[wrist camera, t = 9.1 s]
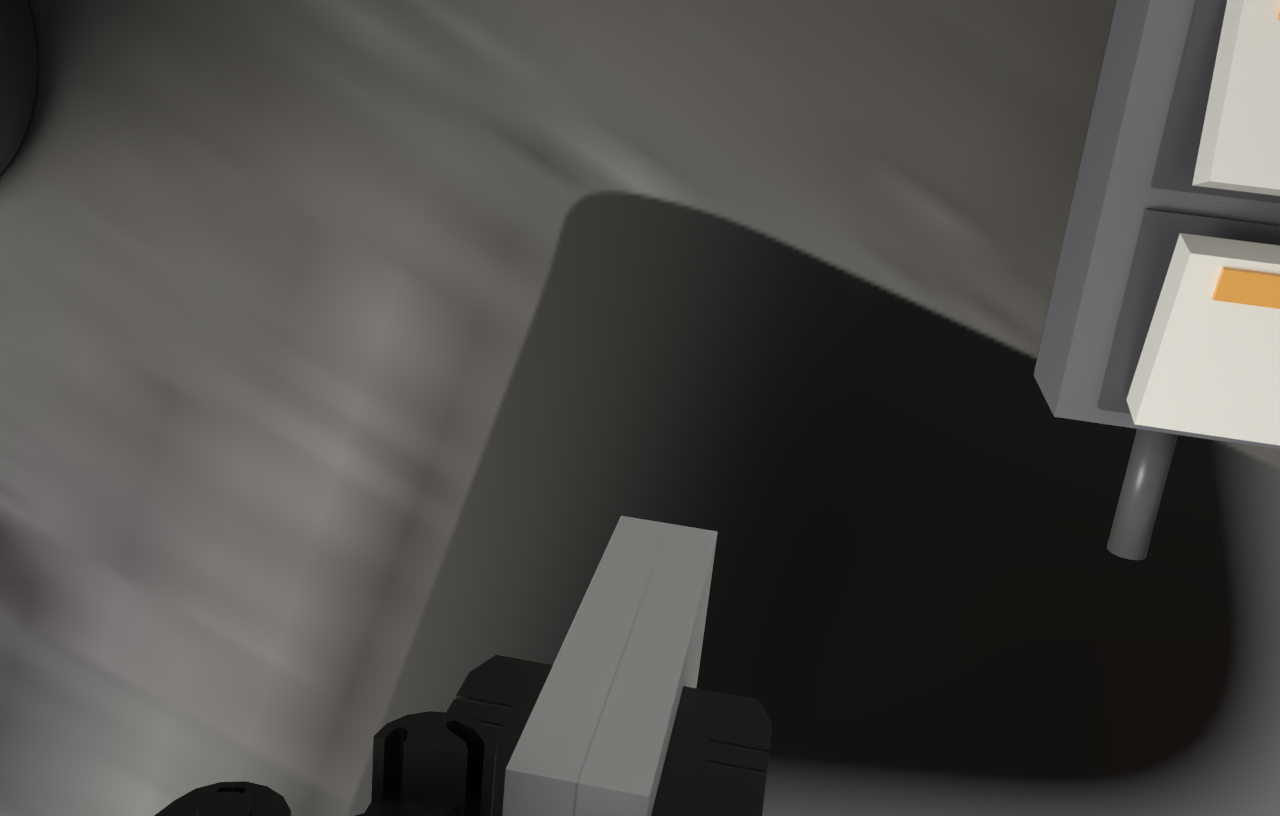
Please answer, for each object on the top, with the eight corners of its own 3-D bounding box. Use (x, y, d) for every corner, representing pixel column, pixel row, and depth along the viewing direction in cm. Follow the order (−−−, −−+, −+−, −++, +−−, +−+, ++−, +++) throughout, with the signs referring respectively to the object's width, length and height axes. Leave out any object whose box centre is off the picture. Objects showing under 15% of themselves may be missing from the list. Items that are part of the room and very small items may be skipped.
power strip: (1002, 517, 48) (1020, 577, 43) (1184, -306, 38) (1234, -354, 33) (1242, 555, 47) (1289, 621, 42) (1491, -283, 37) (1591, -330, 32)
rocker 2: (1126, 399, 40) (1135, 427, 38) (1179, 233, 37) (1191, 255, 35) (1283, 422, 39) (1298, 451, 38) (1351, 254, 36) (1370, 278, 35)
